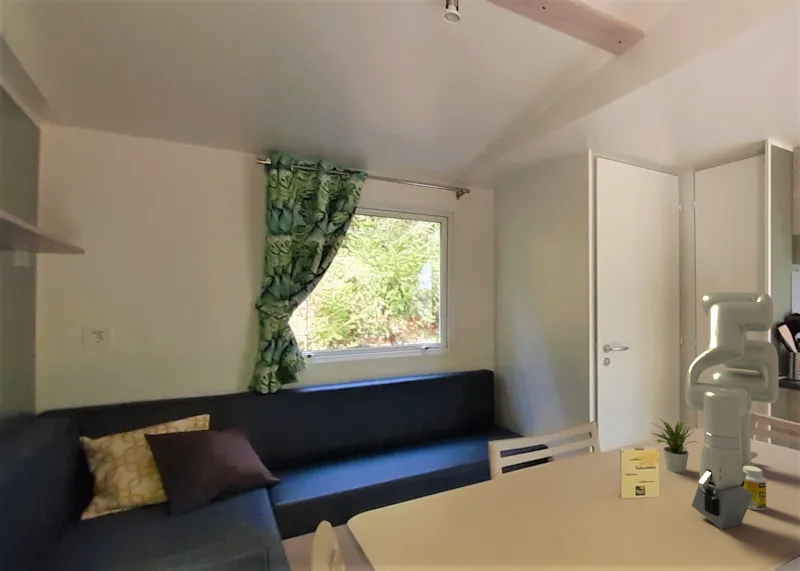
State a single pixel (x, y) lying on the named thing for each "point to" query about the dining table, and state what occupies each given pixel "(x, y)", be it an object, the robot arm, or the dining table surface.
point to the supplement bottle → (755, 487)
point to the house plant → (675, 447)
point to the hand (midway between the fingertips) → (723, 510)
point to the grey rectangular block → (725, 505)
